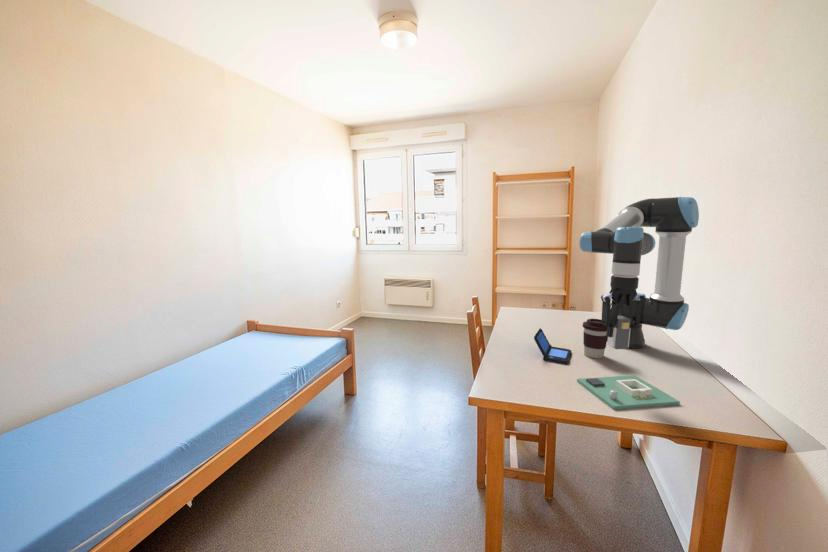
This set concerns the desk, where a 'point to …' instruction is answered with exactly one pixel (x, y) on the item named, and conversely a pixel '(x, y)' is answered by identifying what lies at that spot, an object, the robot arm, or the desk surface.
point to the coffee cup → (594, 338)
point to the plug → (622, 332)
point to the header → (640, 392)
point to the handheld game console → (551, 349)
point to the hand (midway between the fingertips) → (617, 345)
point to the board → (620, 399)
